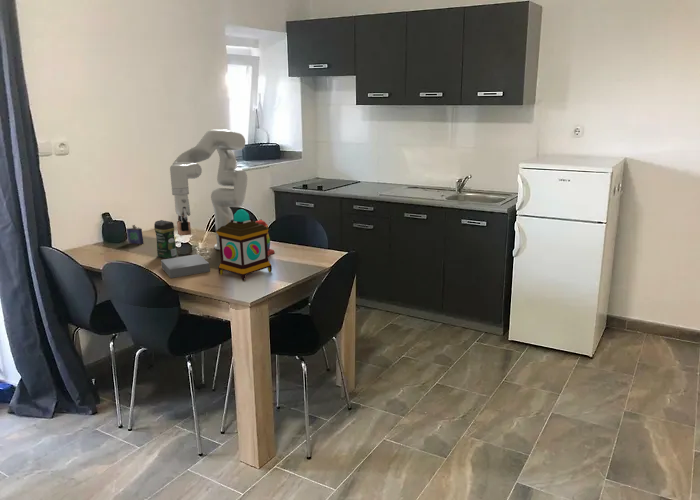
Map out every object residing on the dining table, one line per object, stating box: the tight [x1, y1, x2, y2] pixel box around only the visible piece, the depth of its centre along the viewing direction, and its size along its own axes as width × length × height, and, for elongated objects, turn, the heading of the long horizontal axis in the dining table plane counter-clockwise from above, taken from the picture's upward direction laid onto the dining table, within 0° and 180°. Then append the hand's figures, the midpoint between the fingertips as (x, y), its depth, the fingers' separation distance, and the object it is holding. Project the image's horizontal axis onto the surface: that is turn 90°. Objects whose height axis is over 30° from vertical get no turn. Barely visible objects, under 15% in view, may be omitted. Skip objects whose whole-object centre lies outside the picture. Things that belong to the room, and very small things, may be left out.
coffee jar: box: [153, 219, 178, 259], centre depth 293 cm, size 10×8×19 cm
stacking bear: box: [255, 219, 276, 258], centre depth 293 cm, size 11×10×18 cm
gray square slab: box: [160, 253, 211, 279], centre depth 273 cm, size 18×18×4 cm
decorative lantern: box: [215, 208, 273, 282], centre depth 262 cm, size 20×20×30 cm
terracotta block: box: [176, 220, 192, 237], centre depth 274 cm, size 5×5×6 cm
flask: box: [125, 224, 144, 246], centre depth 320 cm, size 9×3×11 cm, turn 76°
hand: (183, 229), depth 274 cm, fingers closed on terracotta block, 4 cm apart
